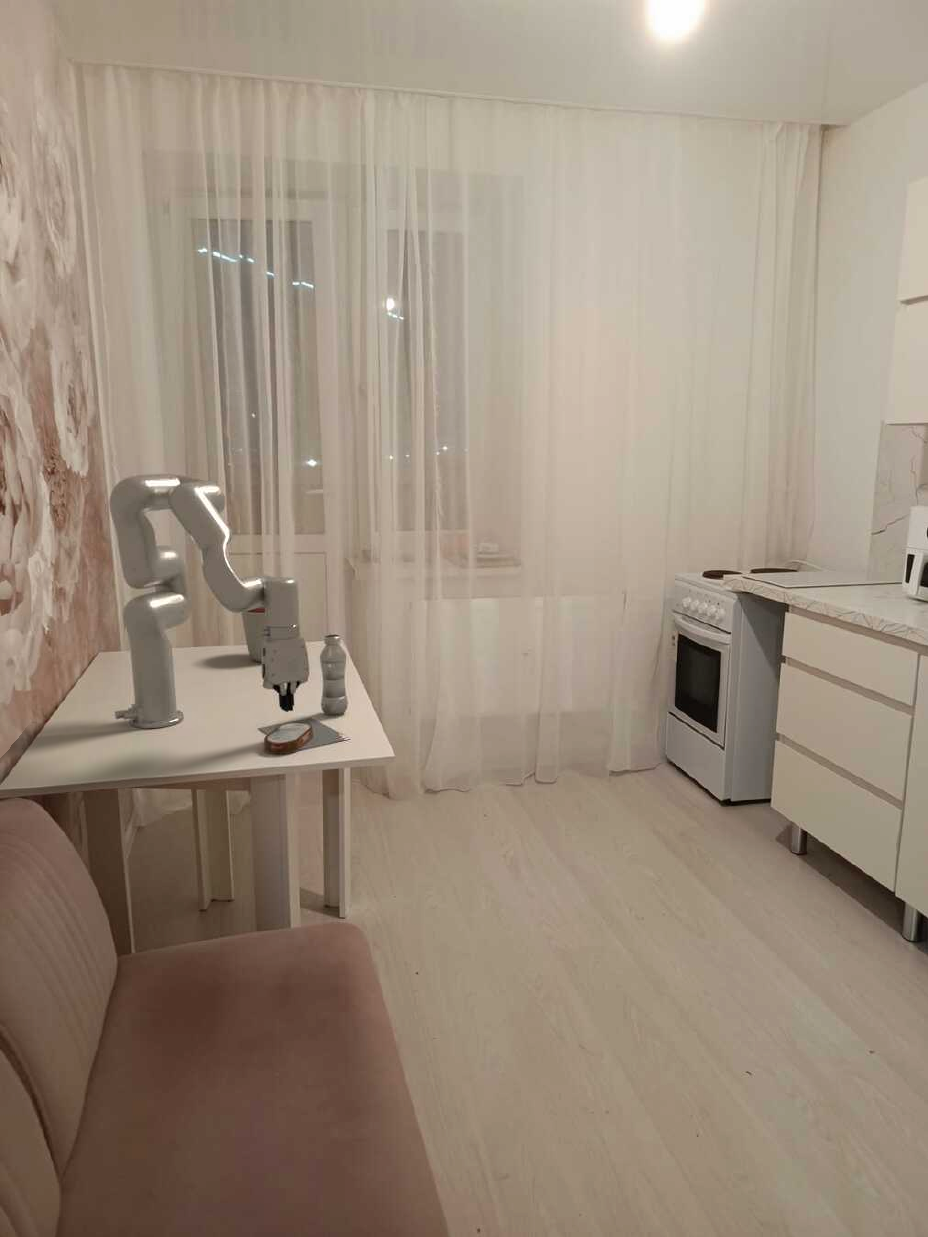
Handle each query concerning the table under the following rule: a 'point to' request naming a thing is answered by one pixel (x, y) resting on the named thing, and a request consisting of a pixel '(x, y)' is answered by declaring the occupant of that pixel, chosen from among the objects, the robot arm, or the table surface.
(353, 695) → the table surface
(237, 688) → the table surface
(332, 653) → the plastic bottle
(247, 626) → the canister
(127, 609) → the robot arm
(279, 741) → the tin
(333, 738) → the mat
